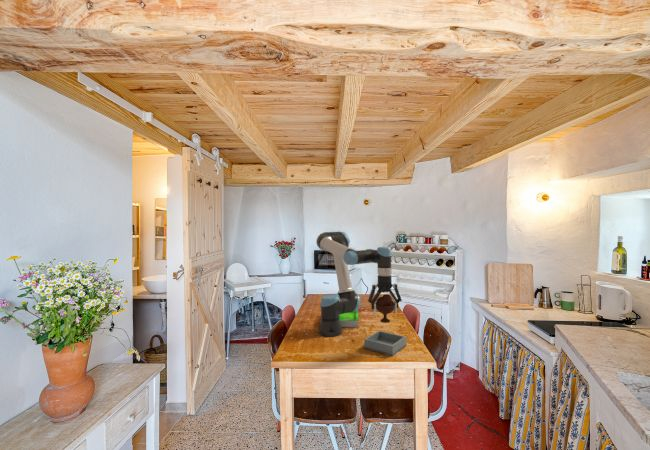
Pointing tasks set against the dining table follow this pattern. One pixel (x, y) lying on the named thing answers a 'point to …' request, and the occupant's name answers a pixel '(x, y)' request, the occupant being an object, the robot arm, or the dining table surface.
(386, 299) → the ice cream bowl
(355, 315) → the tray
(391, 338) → the charcoal tray
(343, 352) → the dining table surface
